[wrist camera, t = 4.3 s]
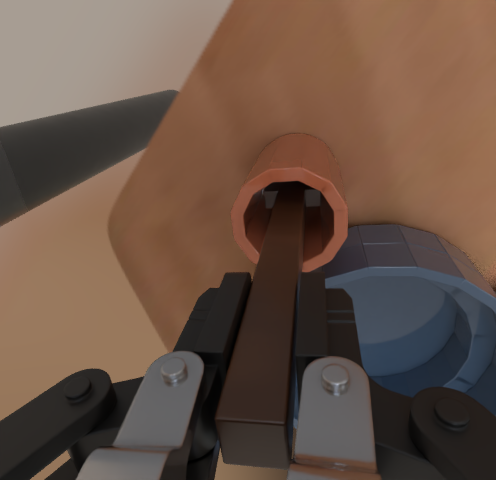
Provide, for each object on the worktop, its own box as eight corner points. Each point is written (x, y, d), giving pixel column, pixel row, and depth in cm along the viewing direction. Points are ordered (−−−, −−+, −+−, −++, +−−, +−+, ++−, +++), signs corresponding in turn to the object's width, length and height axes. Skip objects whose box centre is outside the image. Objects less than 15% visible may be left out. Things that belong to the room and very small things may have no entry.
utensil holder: (259, 213, 25) (238, 274, 18) (252, 136, 23) (224, 171, 16) (337, 210, 24) (347, 274, 17) (337, 129, 22) (348, 164, 15)
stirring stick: (272, 189, 24) (185, 462, 8) (271, 167, 23) (173, 415, 7) (320, 186, 23) (332, 476, 7) (319, 164, 22) (331, 427, 6)
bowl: (276, 383, 32) (268, 448, 27) (261, 224, 25) (246, 268, 20) (467, 393, 29) (501, 468, 24) (504, 216, 23) (562, 265, 17)
